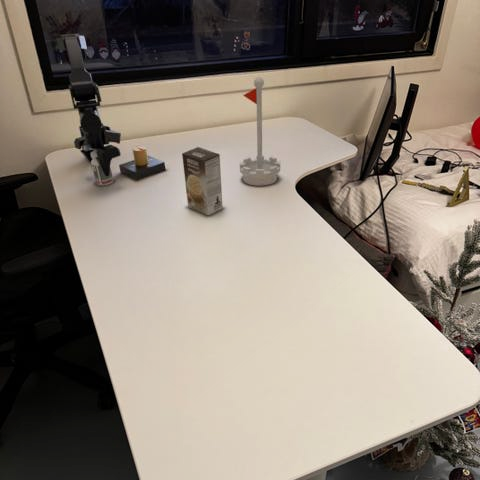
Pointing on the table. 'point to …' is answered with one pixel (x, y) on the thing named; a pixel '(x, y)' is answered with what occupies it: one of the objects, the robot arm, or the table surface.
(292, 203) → the table surface
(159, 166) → the black flat block
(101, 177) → the pill bottle
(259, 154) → the flag stand
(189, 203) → the coffee box
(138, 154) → the handle
